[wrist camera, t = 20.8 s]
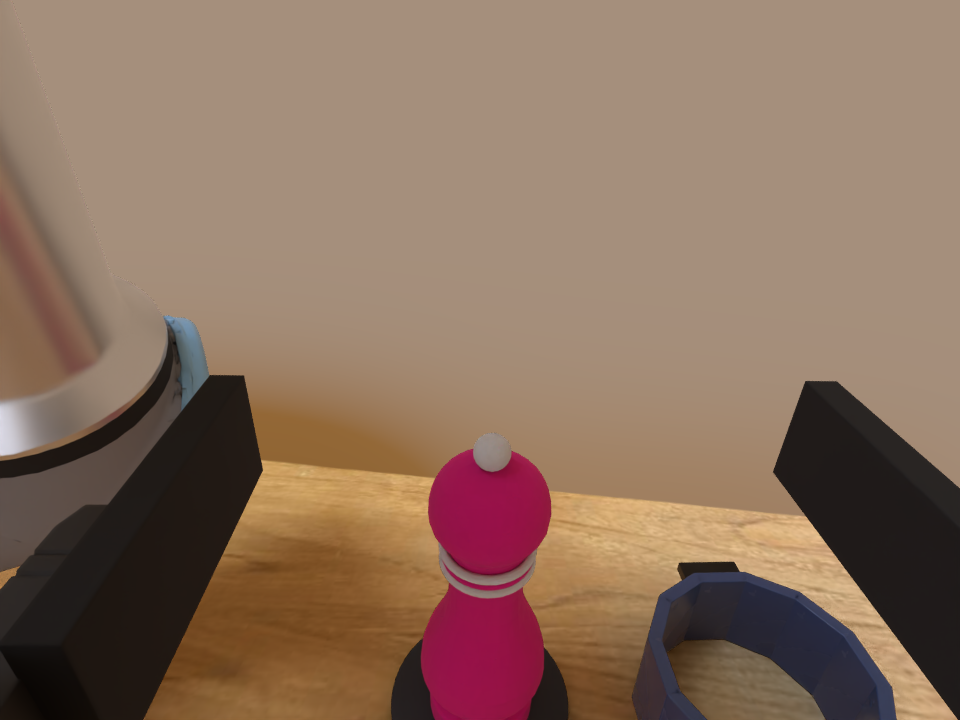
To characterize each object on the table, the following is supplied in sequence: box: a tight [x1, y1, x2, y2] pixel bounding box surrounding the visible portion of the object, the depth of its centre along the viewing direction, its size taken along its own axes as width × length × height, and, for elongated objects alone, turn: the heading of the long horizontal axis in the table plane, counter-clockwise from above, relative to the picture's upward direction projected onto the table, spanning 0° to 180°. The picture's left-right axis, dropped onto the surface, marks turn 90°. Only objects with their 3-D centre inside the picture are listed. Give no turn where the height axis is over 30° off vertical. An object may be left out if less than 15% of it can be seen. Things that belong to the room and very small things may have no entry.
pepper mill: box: [421, 433, 551, 720], centre depth 30 cm, size 7×7×20 cm
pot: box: [632, 562, 897, 720], centre depth 33 cm, size 13×16×6 cm
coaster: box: [391, 639, 568, 720], centre depth 35 cm, size 11×11×1 cm
